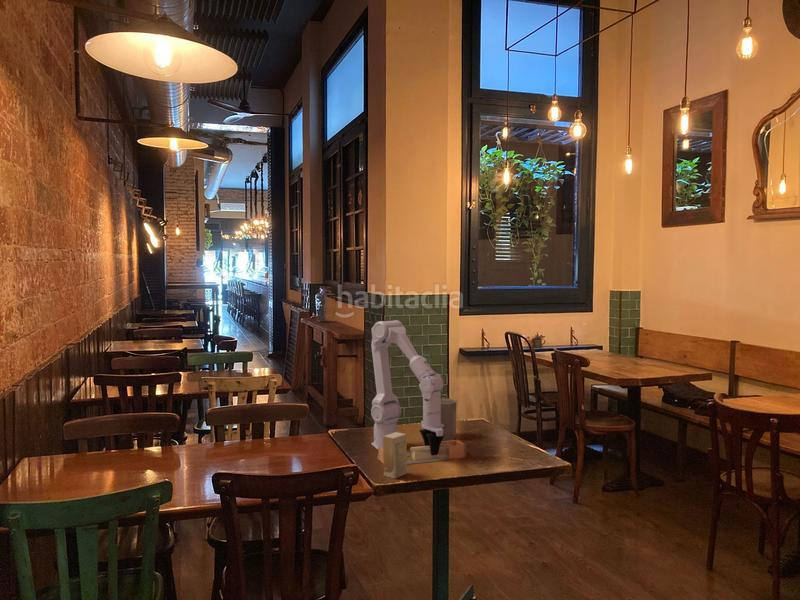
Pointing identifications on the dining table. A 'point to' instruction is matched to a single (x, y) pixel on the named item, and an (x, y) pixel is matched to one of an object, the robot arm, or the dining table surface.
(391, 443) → the skincare box
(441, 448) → the pale wooden block
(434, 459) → the guide rails
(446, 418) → the pillar candle
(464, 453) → the pink open box
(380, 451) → the cap sliding
